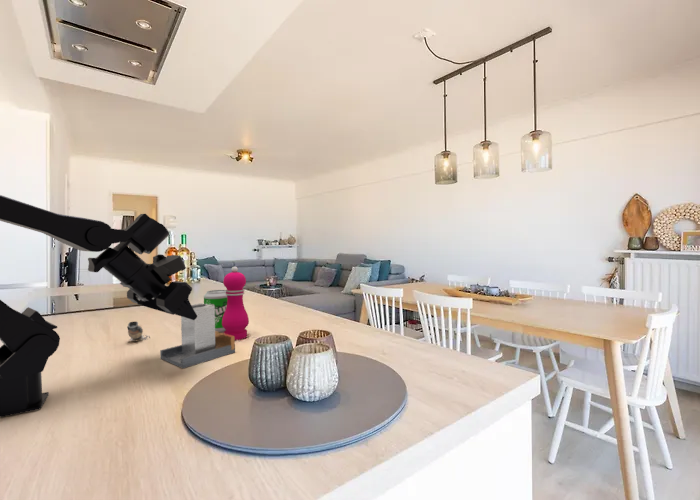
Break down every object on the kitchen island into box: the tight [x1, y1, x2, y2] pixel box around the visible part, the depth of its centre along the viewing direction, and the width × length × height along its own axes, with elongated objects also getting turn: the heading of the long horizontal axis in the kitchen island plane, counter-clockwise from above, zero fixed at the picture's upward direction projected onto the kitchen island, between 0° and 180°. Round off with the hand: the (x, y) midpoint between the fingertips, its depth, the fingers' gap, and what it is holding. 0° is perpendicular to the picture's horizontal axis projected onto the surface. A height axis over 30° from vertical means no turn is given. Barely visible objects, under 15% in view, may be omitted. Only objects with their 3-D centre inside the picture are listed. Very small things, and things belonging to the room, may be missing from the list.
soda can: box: [203, 289, 227, 333], centre depth 105 cm, size 8×8×12 cm
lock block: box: [180, 302, 215, 356], centre depth 82 cm, size 5×6×11 cm
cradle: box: [159, 331, 236, 369], centre depth 83 cm, size 13×10×4 cm
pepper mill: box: [222, 266, 250, 341], centre depth 97 cm, size 7×7×20 cm
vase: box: [127, 321, 151, 342], centre depth 94 cm, size 5×5×6 cm
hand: (184, 315), depth 80 cm, fingers open, 9 cm apart
